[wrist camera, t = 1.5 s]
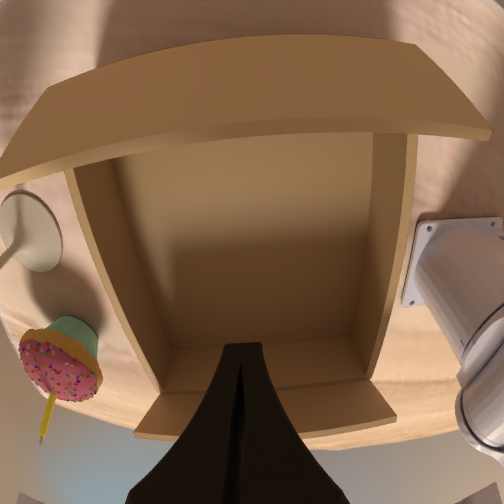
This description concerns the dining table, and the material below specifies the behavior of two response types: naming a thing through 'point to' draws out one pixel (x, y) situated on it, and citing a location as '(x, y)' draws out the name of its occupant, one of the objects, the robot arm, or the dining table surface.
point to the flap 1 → (238, 99)
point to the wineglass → (29, 233)
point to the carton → (252, 251)
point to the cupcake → (62, 362)
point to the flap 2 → (295, 405)
